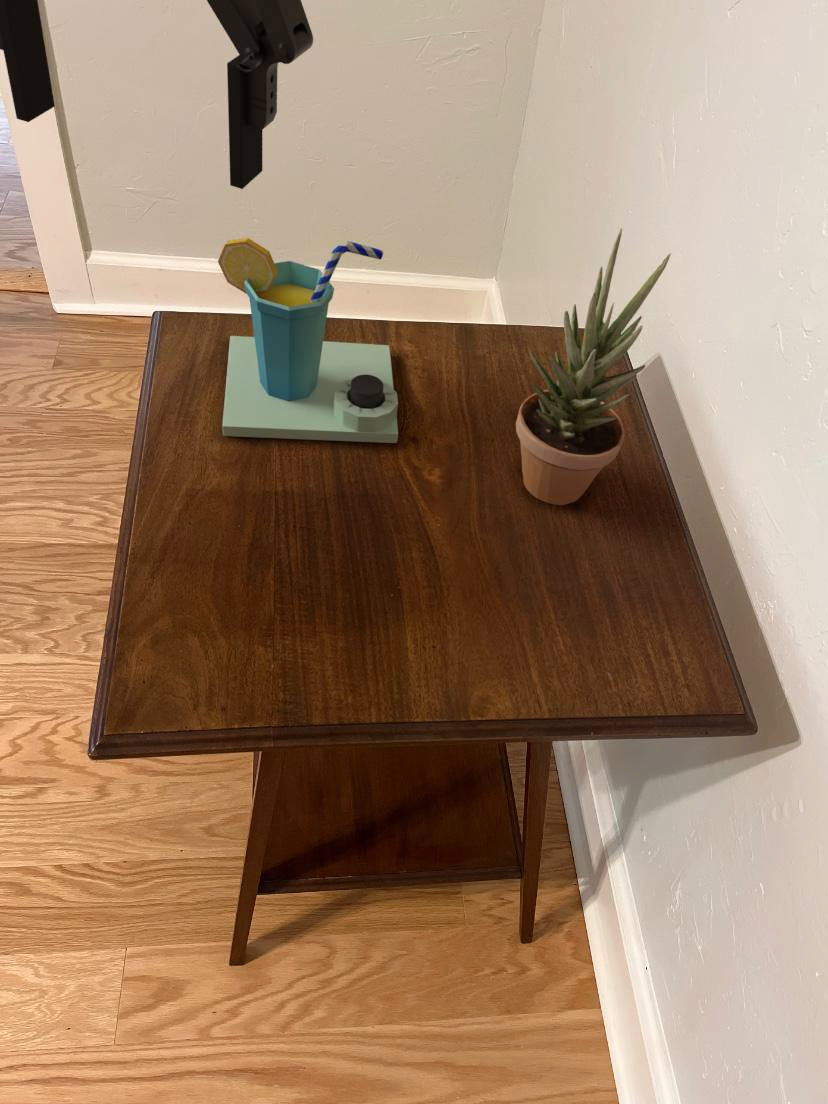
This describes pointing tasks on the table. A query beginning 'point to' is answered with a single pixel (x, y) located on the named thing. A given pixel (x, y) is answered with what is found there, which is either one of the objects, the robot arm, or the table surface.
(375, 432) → the scale
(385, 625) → the table surface
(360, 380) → the tare button
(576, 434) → the potted plant
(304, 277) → the cup
